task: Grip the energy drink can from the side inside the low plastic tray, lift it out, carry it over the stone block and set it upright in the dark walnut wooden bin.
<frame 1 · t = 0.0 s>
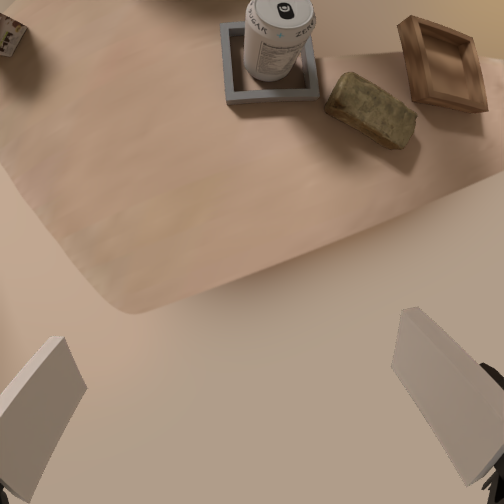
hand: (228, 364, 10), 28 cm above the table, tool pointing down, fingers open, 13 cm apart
walnut bin: (437, 69, 31), on the table
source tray: (267, 63, 31), on the table
stone block: (364, 115, 34), on the table
coffee box: (8, 40, 25), on the table
energy drink can: (267, 63, 31), resting in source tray
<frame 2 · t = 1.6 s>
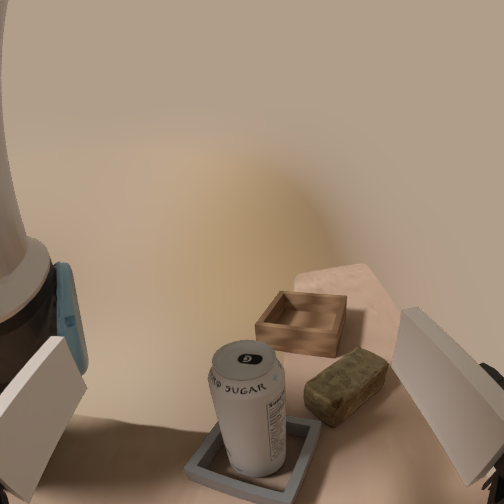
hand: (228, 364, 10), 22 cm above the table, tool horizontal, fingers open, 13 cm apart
walnut bin: (304, 331, 50), on the table
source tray: (257, 459, 25), on the table
stone block: (346, 398, 33), on the table
energy drink can: (257, 460, 25), resting in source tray
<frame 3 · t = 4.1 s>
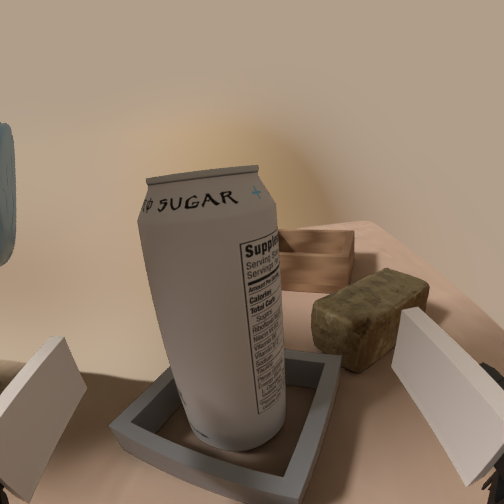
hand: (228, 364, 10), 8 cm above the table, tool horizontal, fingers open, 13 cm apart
walnut bin: (305, 271, 41), on the table
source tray: (238, 422, 16), on the table
stone block: (372, 339, 24), on the table
energy drink can: (239, 424, 16), resting in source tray
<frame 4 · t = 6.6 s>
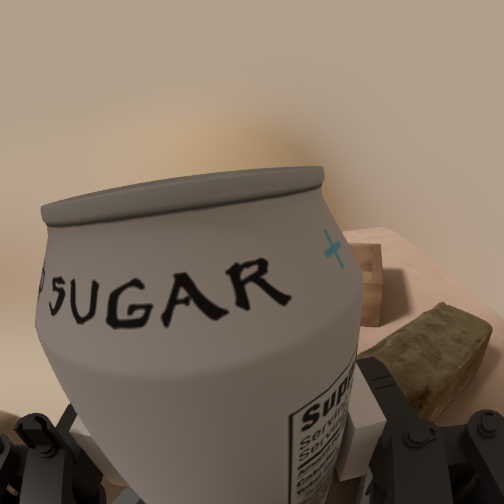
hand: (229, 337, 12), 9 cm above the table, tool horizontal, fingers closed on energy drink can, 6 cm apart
walnut bin: (324, 294, 33), on the table
stone block: (420, 393, 16), on the table
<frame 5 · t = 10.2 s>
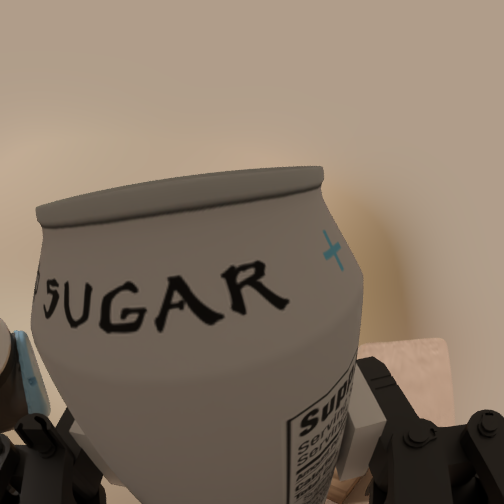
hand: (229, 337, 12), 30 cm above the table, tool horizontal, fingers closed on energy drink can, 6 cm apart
walnut bin: (327, 452, 32), on the table
when the fingers open (11 cm above the table, at t = 13.7 s): energy drink can drops 1 cm, resting on walnut bin.
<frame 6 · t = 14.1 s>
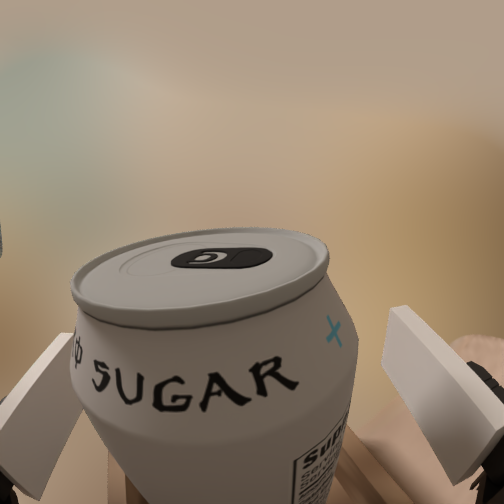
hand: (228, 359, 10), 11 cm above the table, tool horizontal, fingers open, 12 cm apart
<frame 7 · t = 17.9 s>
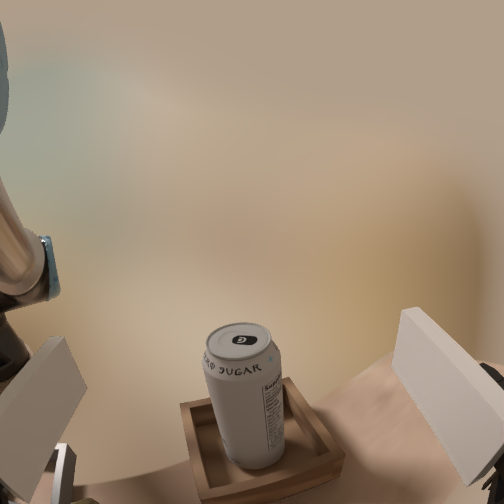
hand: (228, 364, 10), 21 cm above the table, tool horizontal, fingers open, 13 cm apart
walnut bin: (256, 454, 25), on the table
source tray: (35, 485, 17), on the table
energy drink can: (255, 452, 25), point 1 cm above the table, touching walnut bin
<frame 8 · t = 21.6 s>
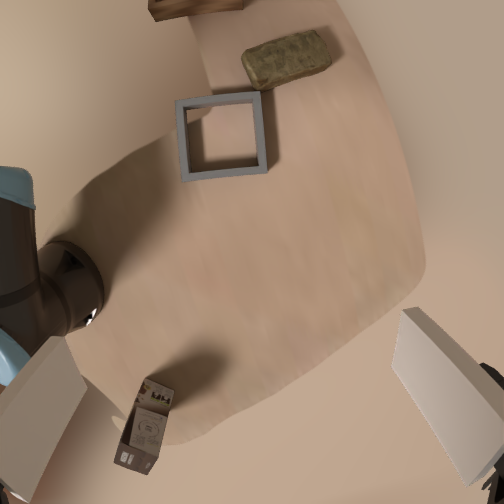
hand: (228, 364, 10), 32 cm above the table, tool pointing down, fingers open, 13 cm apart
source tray: (221, 136, 37), on the table
stone block: (284, 66, 35), on the table
coffee box: (153, 396, 50), on the table
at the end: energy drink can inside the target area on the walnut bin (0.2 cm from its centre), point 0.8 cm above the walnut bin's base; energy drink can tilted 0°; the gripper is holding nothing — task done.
